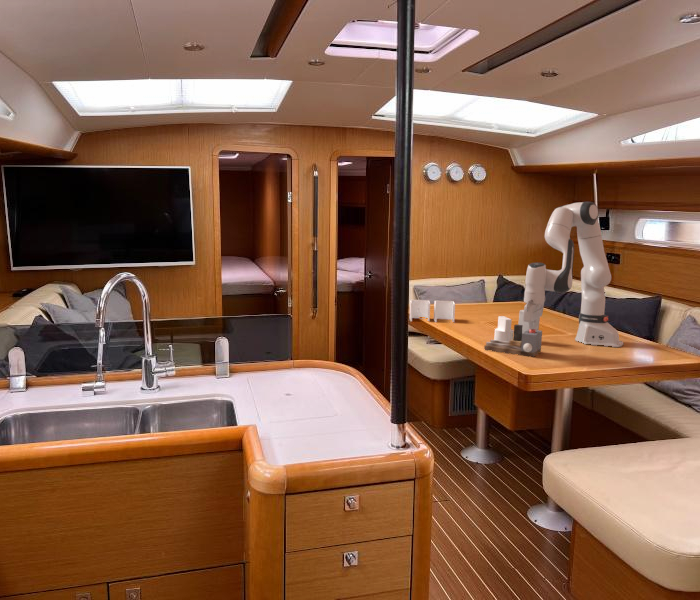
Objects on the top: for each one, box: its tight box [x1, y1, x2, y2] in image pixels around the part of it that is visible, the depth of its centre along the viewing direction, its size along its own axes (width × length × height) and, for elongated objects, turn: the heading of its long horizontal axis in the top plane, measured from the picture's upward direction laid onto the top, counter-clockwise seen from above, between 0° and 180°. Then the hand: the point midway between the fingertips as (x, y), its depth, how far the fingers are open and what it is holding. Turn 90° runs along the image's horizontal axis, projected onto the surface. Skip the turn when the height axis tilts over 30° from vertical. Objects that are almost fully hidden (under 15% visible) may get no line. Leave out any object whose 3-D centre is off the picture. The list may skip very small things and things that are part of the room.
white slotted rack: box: [409, 299, 456, 323], centre depth 360 cm, size 25×11×11 cm, turn 86°
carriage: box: [509, 323, 523, 347], centre depth 288 cm, size 5×8×9 cm, turn 149°
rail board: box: [483, 339, 542, 358], centre depth 290 cm, size 23×12×3 cm, turn 59°
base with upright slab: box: [493, 315, 514, 342], centre depth 308 cm, size 9×9×12 cm
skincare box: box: [517, 309, 541, 333], centre depth 309 cm, size 8×7×16 cm
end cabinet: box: [520, 330, 543, 358], centre depth 285 cm, size 6×12×10 cm, turn 149°
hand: (531, 328), depth 284 cm, fingers closed
